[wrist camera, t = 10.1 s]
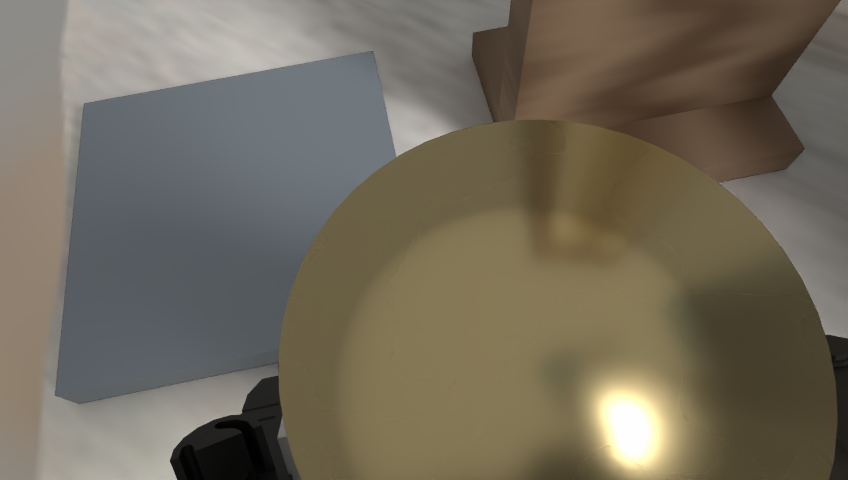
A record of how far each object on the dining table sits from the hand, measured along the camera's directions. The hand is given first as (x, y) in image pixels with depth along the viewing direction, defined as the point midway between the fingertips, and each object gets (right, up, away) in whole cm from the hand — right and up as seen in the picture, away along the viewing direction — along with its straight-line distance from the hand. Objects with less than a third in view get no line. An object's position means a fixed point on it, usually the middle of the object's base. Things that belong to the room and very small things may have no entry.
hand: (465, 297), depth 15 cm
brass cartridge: (+1, -5, +2) cm, 5 cm away
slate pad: (-9, +3, +10) cm, 14 cm away
